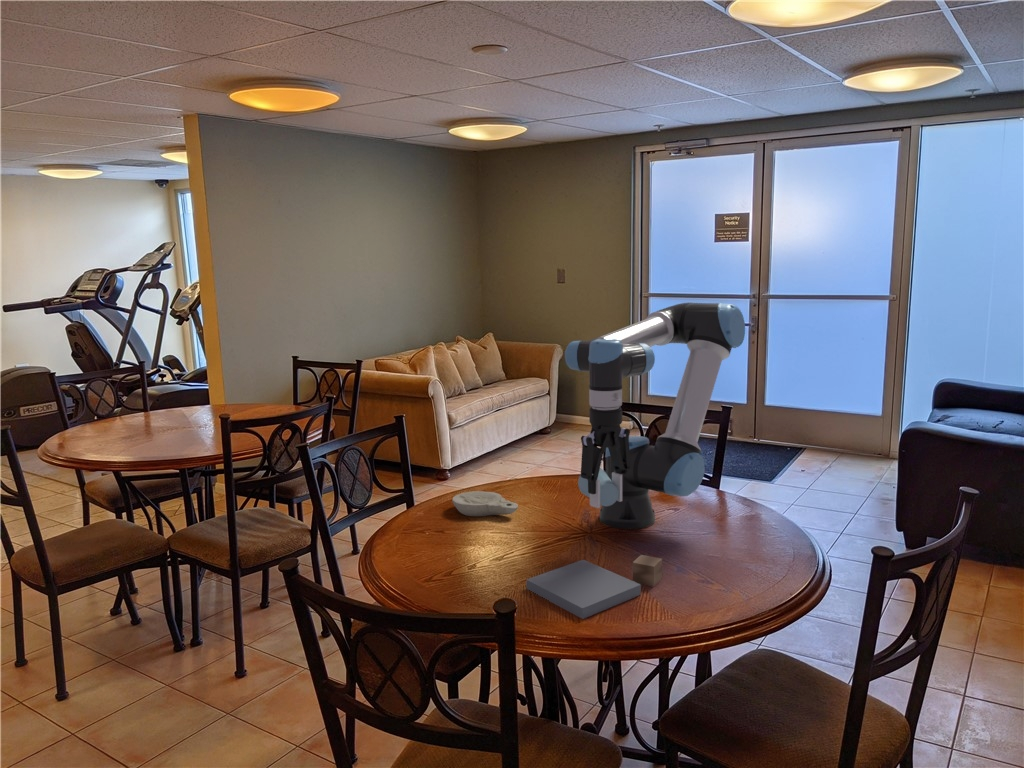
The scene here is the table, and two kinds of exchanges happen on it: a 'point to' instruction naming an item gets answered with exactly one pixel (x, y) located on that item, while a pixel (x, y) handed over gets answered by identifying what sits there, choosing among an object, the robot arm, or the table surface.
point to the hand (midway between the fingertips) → (606, 503)
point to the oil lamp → (483, 504)
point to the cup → (601, 488)
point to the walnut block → (647, 570)
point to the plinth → (583, 588)
